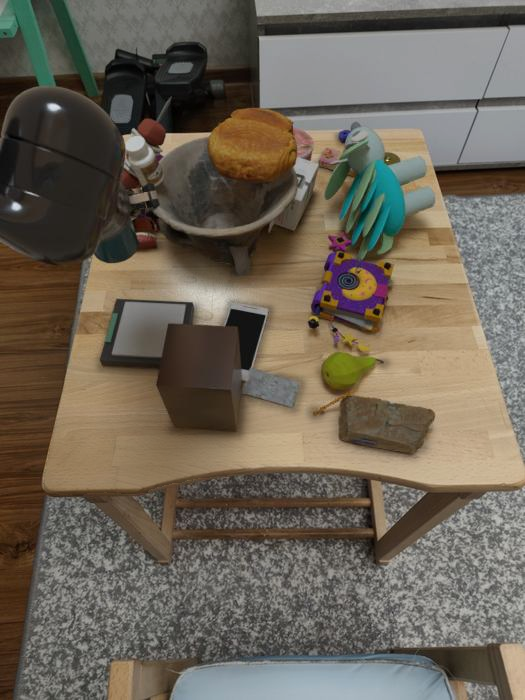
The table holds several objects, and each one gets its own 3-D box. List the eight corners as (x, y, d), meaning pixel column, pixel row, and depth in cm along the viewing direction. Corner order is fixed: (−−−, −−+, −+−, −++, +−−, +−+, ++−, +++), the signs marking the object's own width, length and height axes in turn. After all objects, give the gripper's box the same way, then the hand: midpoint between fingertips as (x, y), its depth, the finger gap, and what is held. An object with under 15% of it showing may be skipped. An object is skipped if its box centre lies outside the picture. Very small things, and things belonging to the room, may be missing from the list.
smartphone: (208, 375, 81) (207, 372, 80) (232, 304, 89) (231, 301, 88) (248, 384, 80) (248, 381, 80) (269, 311, 88) (269, 308, 87)
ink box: (312, 195, 104) (289, 242, 97) (291, 188, 104) (267, 234, 97) (320, 163, 96) (296, 211, 89) (297, 155, 97) (271, 203, 90)
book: (294, 337, 84) (299, 295, 74) (329, 238, 97) (336, 190, 86) (376, 359, 82) (392, 318, 72) (400, 255, 94) (417, 207, 84)
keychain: (315, 414, 77) (315, 418, 77) (311, 409, 77) (311, 413, 76) (356, 391, 74) (356, 395, 73) (352, 386, 74) (352, 390, 73)
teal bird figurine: (422, 92, 85) (337, 113, 80) (454, 232, 90) (377, 261, 85) (378, 120, 98) (303, 140, 93) (409, 242, 103) (339, 266, 98)
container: (309, 191, 104) (312, 160, 97) (261, 188, 104) (261, 157, 98) (311, 160, 109) (315, 128, 102) (266, 157, 110) (266, 125, 103)
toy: (318, 158, 107) (326, 145, 109) (317, 165, 108) (325, 153, 111) (370, 174, 104) (377, 160, 106) (369, 181, 106) (375, 168, 108)
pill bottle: (155, 191, 82) (137, 156, 75) (135, 185, 83) (116, 149, 77) (169, 173, 83) (152, 136, 76) (149, 167, 85) (131, 130, 78)
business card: (300, 381, 80) (301, 380, 80) (293, 408, 77) (293, 406, 77) (249, 368, 81) (249, 367, 81) (240, 394, 79) (240, 393, 78)
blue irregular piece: (334, 137, 114) (335, 127, 112) (348, 129, 115) (349, 119, 113) (362, 157, 110) (364, 147, 108) (376, 148, 112) (379, 138, 109)
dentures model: (124, 238, 91) (128, 209, 96) (129, 253, 95) (132, 225, 99) (154, 237, 92) (156, 208, 96) (157, 253, 95) (159, 224, 100)
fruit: (314, 350, 78) (370, 334, 83) (313, 383, 80) (368, 365, 86) (339, 366, 73) (397, 347, 78) (337, 400, 75) (393, 380, 81)
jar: (88, 262, 64) (66, 217, 57) (99, 229, 67) (80, 182, 60) (133, 264, 63) (118, 219, 57) (142, 230, 67) (128, 184, 60)
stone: (428, 420, 76) (437, 404, 72) (427, 459, 73) (437, 445, 68) (339, 404, 78) (343, 388, 74) (334, 441, 75) (338, 426, 70)
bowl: (223, 176, 107) (218, 113, 94) (319, 231, 98) (327, 169, 85) (133, 245, 96) (113, 184, 83) (231, 313, 87) (226, 257, 74)
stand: (174, 428, 76) (155, 385, 63) (183, 373, 81) (168, 323, 68) (236, 431, 76) (231, 389, 63) (242, 376, 81) (237, 326, 68)
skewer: (105, 224, 104) (175, 97, 93) (114, 236, 102) (187, 108, 91) (84, 217, 100) (155, 84, 89) (93, 230, 98) (167, 95, 87)
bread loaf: (197, 148, 76) (199, 185, 83) (293, 169, 75) (287, 204, 82) (219, 89, 82) (220, 128, 89) (308, 108, 81) (301, 146, 89)
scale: (102, 366, 82) (98, 358, 80) (119, 305, 89) (115, 296, 86) (183, 370, 81) (181, 362, 79) (194, 308, 88) (192, 300, 86)
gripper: (150, 147, 47) (151, 172, 63) (-3, 178, 44) (38, 197, 60) (171, 224, 48) (167, 230, 64) (26, 258, 46) (58, 255, 62)
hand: (104, 214), depth 62 cm, fingers closed on jar, 6 cm apart
